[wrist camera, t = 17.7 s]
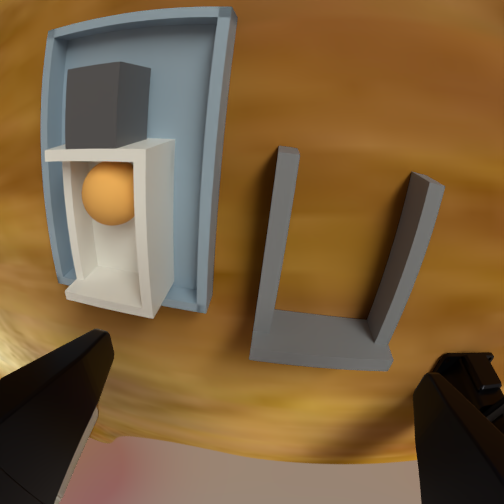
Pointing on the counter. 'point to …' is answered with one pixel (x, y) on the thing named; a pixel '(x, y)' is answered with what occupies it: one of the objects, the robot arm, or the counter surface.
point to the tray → (154, 123)
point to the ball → (109, 193)
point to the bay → (329, 327)
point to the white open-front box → (145, 190)
